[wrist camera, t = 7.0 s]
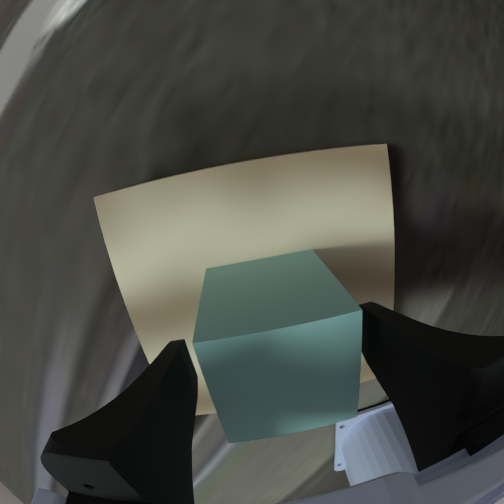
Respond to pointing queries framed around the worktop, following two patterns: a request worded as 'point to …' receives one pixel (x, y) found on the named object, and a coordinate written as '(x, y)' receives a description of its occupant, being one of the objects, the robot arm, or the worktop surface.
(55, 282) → the worktop surface
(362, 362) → the birch base board
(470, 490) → the robot arm
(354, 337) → the teal block
